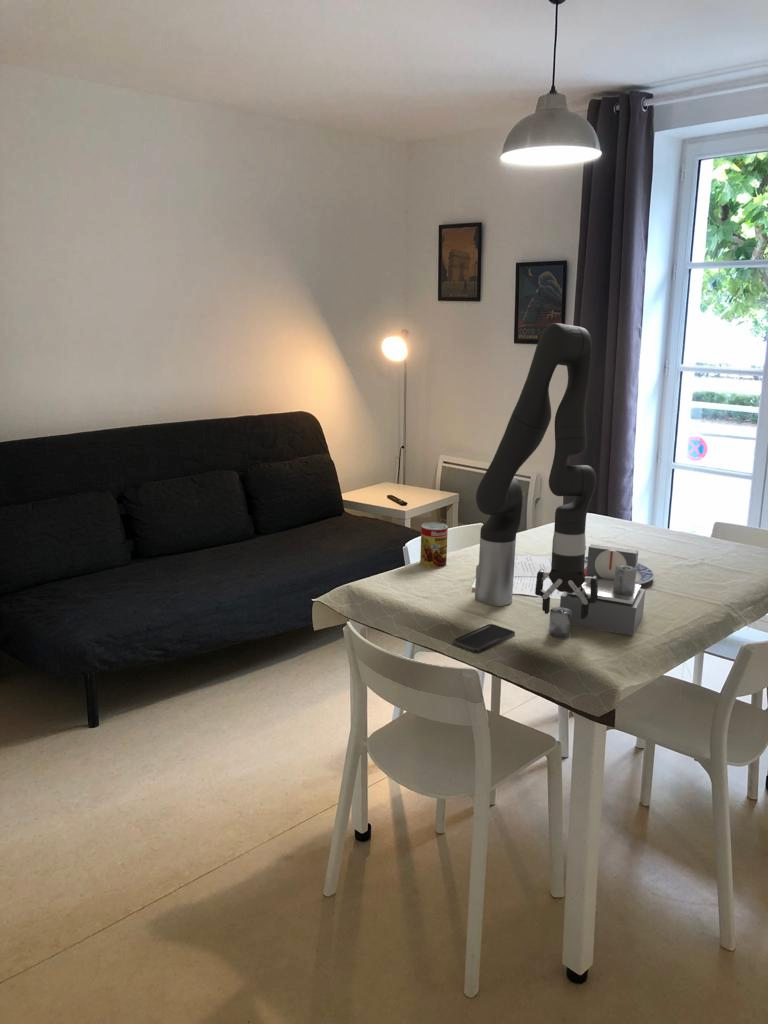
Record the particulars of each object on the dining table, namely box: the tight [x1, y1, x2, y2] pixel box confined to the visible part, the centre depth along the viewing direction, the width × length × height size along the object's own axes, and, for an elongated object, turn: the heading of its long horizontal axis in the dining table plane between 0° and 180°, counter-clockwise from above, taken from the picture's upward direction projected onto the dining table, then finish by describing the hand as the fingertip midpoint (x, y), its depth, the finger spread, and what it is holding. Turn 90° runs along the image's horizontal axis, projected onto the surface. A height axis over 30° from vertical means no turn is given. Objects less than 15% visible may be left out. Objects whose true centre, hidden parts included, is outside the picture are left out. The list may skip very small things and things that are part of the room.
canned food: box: [419, 522, 449, 569], centre depth 247 cm, size 8×8×12 cm
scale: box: [559, 543, 646, 636], centre depth 207 cm, size 18×18×16 cm
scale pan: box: [566, 578, 642, 604], centre depth 206 cm, size 16×13×1 cm
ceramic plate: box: [584, 556, 655, 585], centre depth 240 cm, size 26×26×3 cm
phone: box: [453, 623, 516, 653], centre depth 194 cm, size 8×1×15 cm
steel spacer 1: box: [548, 606, 572, 640], centre depth 197 cm, size 5×5×6 cm
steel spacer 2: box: [613, 565, 637, 595], centre depth 202 cm, size 5×5×6 cm
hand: (564, 615), depth 196 cm, fingers open, 8 cm apart
